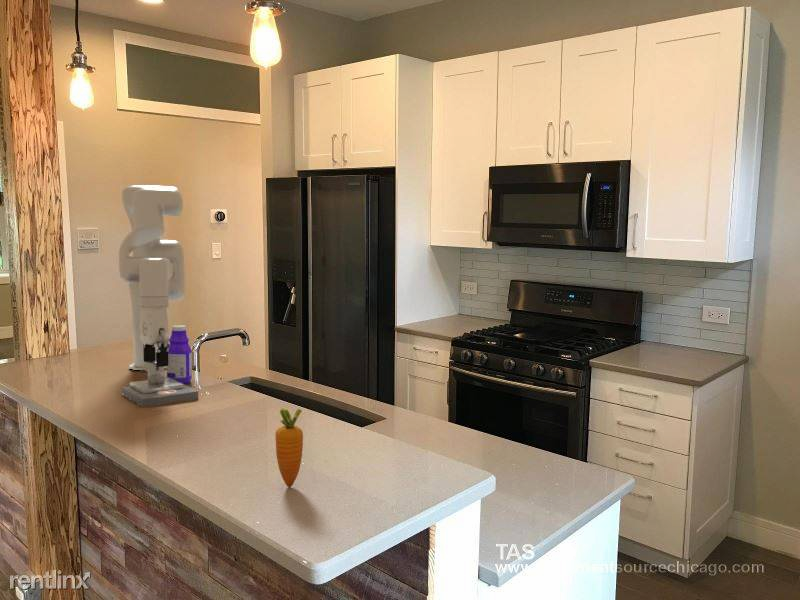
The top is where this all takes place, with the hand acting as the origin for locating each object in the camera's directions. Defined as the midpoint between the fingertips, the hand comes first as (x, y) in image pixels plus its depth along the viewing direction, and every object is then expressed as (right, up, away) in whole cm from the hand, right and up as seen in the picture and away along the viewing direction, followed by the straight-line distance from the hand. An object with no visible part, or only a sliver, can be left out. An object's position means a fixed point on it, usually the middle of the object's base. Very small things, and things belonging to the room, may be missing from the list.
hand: (155, 363), depth 186 cm
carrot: (+48, -17, -63) cm, 81 cm away
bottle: (+1, -8, +17) cm, 18 cm away
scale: (+1, -9, 0) cm, 9 cm away
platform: (0, -7, +1) cm, 7 cm away
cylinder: (0, -6, +1) cm, 6 cm away
